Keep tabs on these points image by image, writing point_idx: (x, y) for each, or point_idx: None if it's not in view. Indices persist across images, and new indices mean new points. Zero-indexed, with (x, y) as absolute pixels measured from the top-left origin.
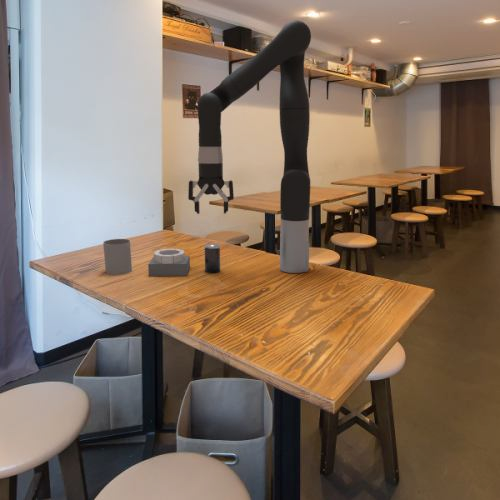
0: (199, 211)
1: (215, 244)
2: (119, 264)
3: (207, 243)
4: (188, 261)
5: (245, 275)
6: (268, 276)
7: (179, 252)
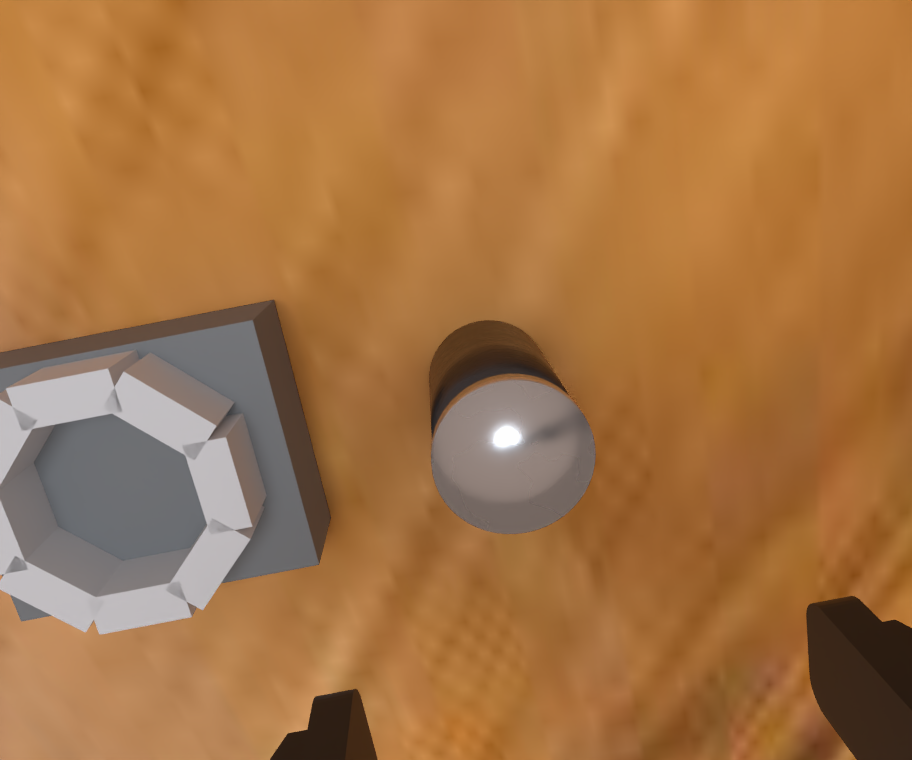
0: (356, 711)
1: (546, 445)
2: None
3: (451, 415)
4: (284, 411)
5: (744, 438)
6: (906, 433)
7: (201, 497)
